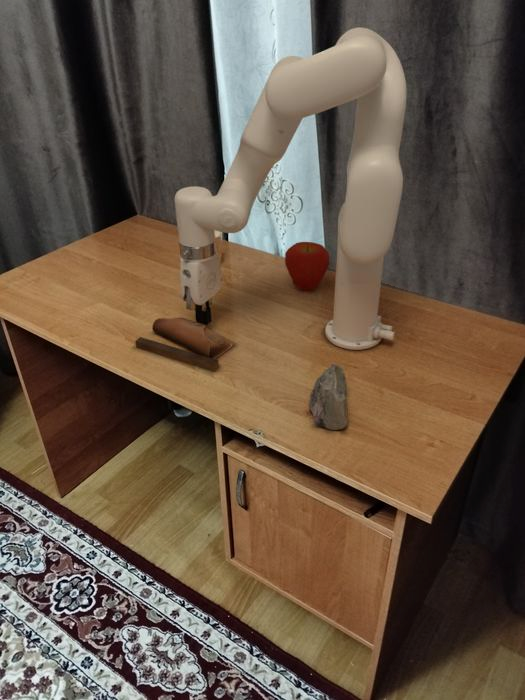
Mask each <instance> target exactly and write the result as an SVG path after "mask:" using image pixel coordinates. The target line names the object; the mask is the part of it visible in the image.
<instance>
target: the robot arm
mask: <svg viewBox="0 0 525 700" xmlns="http://www.w3.org/2000/svg"><path fill="white" fill-rule="evenodd" d="M407 91H408V90H407V81H406V75H405V72H404V69H403V65H402V63H401V60H400V58H399V56H398V54H397V52H396V51H395V49H394V48H393V47H392V45H391V44H390V43H388V41H387V40H386V39H385V38H383V37H382V36H381V35H379V34H378V33H377V32H375V31H374V30H372V29H370V28H367V27H361V26H360V27H354V28H351V29H349V30H347V31H345V32H344V33H343V34H342V35H341V36H340V37H339V39H338V40H337V41H336V43H335V45H334V46H332V47H329V48H327V49H324V50H323V51H321V52H317V53H315V54H313V55H310V56H307V57H305V58H303V57H301V56H298V55H297V56H296V55H289V56H285V57H283V58H281V59H280V60H278V61H277V63H275V65H274V66H273V67H272V69H271V71H270V73H269V76H268V78H267V80H266V82H265V84H264V86H263V88H262V91H261V93H260V95H259V97H258V99H257V101H256V103H255V106H254V107H253V110H252V112H251V114H250V117H249V119H248V121H247V122H246V124H245V126H244V127H245V128H244V129H243V132H242V134H241V136H240V141H239V146H238V148H237V151H236V154H235V156H234V158H233V160H232V162H231V165H230V167H229V168H228V171H227V174H226V175H225V178H224V180H223V182H222V183H221V186H220V188H219V189H218V192H217V194H216V195H213V194H212V192H211V191H210V190H209V189H207V188H206V187H204V186H203V187H202V186H187V187H183V188H180V189H179V190H178V191H176V193H175V194H174V195H175V196H174V208H175V218H176V226H177V235H178V247H179V256H180V261H179V262H180V263H179V284H180V294H181V299H182V301H183V302H185V309H186V310H188V311H194V314H195V315H194V316H195V322H198V323H200V324H202V325H204V326H209V325H210V323H212V321H213V320H212V319H213V318H212V307H211V306H212V304H213V297H214V296H215V295H216V294H217V293H218V292H219V291H220V290H221V289H222V288H223V272H222V265H221V262H220V259H219V255H218V251H217V249H216V244H215V231H219V232H222V233H225V234H235V233H239V232H241V231H243V230H244V229H245V228H246V227H247V225H248V222H249V220H250V216H251V212H252V209H253V206H254V203H255V201H256V199H257V197H258V194H259V193H260V191H261V188H262V187H263V185H264V183H265V180H266V179H267V177H268V175H269V174H270V172H271V171H272V169H273V167H274V166H275V165H276V164H277V163H279V162H280V161H281V160H282V158H283V157H284V156H285V154H286V153H287V152H286V151H287V150H288V147H289V146H290V144H291V143H292V140H293V138H294V135H295V134H296V132H297V130H298V129H299V126H300V124H301V123H302V120H303V119H304V118H308V117H311V116H315V115H316V114H319V113H322V112H325V111H327V110H330V109H333V108H336V107H338V106H341V105H344V104H347V103H350V102H352V101H355V100H356V108H355V109H356V111H355V118H354V129H353V136H352V140H351V147H350V148H351V149H350V153H349V157H348V161H347V165H346V192H345V197H344V198H345V199H344V200H345V201H344V202H343V204H342V205H341V207H340V209H339V213H338V217H337V242H336V243H337V246H336V263H335V264H336V265H335V278H334V279H335V281H334V297H333V312H332V314H333V315H332V319H331V320H330V321H328V322H327V324H326V325H325V330H324V333H325V337H326V338H327V339H326V340H328V341H329V342H330V343H331V344H333V345H334V346H337V347H339V348H341V349H346V350H353V351H361V350H367V349H370V348H373V347H375V346H377V345H378V344H379V343H380V342H381V341H382V339H384V340H388V341H394V340H395V337H396V331H393V325H389V324H383V322H382V321H381V320H382V316H381V315H379V314H378V313H379V305H380V297H381V296H380V295H381V288H382V287H381V286H382V277H383V271H384V263H385V261H384V260H385V256H386V255H387V253H388V252H389V250H390V248H391V245H392V242H393V238H394V234H395V229H396V226H397V225H396V224H397V220H398V216H399V215H398V214H399V211H400V206H401V205H400V204H401V200H402V194H403V187H404V186H403V185H404V175H403V170H402V165H401V161H400V147H401V142H402V135H403V129H404V122H405V116H406V115H405V114H406V107H407V95H408V94H407Z"/></svg>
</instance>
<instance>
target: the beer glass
mask: <svg viewBox="0 0 525 700" xmlns="http://www.w3.org/2000/svg"><path fill="white" fill-rule="evenodd" d="M215 244H216V249H217V251H218V255H219V259H220V263H221V262H222V261H223V232H219V231H215Z"/></svg>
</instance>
